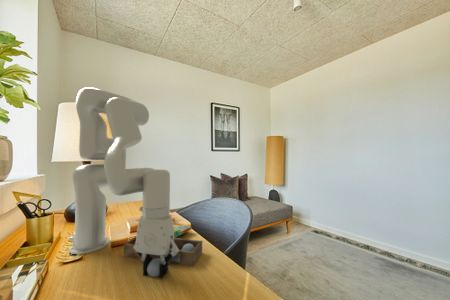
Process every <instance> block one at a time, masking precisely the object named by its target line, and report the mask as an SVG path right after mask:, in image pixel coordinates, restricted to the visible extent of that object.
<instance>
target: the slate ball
mask: <svg viewBox="0 0 450 300" xmlns="http://www.w3.org/2000/svg"><path fill="white" fill-rule="evenodd" d="M161 263H162V262H161V259H153V260H152V261H151V262H150V263H149V264H148V267H147V272H148V274H147V275H148V276H149V277H151V278H156V277H160V264H161Z"/></svg>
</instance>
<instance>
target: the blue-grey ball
mask: <svg viewBox="0 0 450 300" xmlns="http://www.w3.org/2000/svg"><path fill="white" fill-rule="evenodd" d="M194 248H195V247H194V246H193V245H192V244H190V243H188V244H185V245H184V246H183V248H182V250H185V251H193V250H194Z"/></svg>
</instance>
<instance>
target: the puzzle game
mask: <svg viewBox="0 0 450 300" xmlns="http://www.w3.org/2000/svg"><path fill="white" fill-rule="evenodd" d="M173 228H174V238H178V237H179V236H181V235H182V234H185V233H187V232H189V231H191V230H192V226H189V225H186V224H183V223H179V222H176V221H173Z"/></svg>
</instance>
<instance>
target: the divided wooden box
mask: <svg viewBox="0 0 450 300" xmlns="http://www.w3.org/2000/svg"><path fill="white" fill-rule="evenodd" d="M135 241H136V236H135V237H133V238H131V239H130V240H128V241H127V242H125V243H123V258H129V259H130V258H131V259H134V260H135V259H138V260H141V257H140V256H139V254H138V252H137V251H136V250H135V249H134V248H133V247H134V245H135V244H134V243H135ZM174 242H175V244H176V246H177V247H178V249H179V252H178V253H177V254H176V255H175V256H173V257H172V258H171V259H170V260H169V261H168V264H172V265H178V266H186V267H192V268H194V267H195V265H196V263H197V262H198V261H199V259H200V257H201V256H202V255H203V240H200V239H199V240H197V239H189V238H180V237H175V238H174ZM188 243H190V244H192V245H193V246H194V247H195V248H194V250H193V251H185V250H182V248H183V246H184V245H185V244H188ZM170 252H172V250H171V249H169V253H170ZM150 256H152V260H153V259H161V257H160V256H159V255H150Z"/></svg>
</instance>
